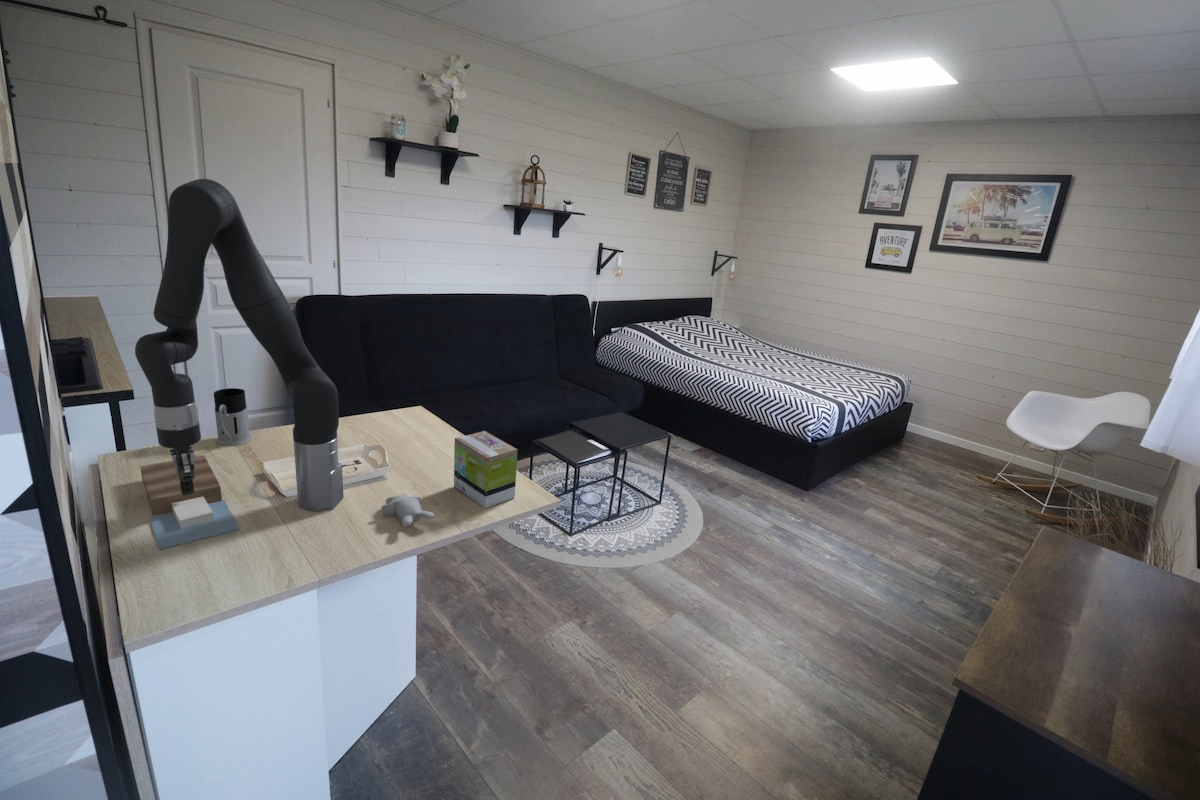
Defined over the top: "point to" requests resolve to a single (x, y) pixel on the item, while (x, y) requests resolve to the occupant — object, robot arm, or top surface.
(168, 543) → the mat
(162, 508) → the deck
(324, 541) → the top surface
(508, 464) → the tea box
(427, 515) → the grey animal figure
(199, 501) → the white rectangular block
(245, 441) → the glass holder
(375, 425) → the top surface
